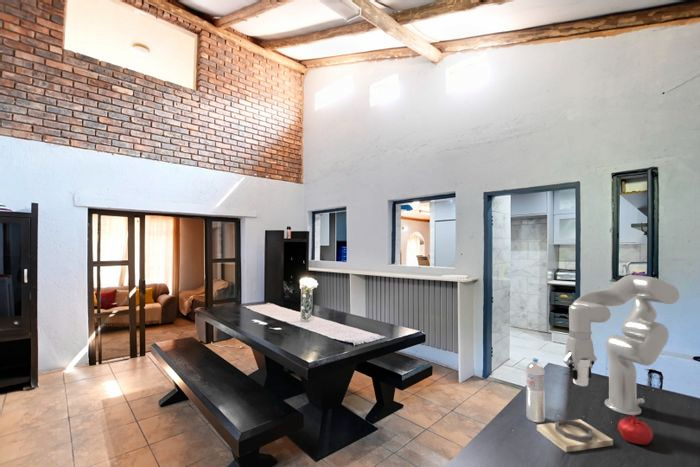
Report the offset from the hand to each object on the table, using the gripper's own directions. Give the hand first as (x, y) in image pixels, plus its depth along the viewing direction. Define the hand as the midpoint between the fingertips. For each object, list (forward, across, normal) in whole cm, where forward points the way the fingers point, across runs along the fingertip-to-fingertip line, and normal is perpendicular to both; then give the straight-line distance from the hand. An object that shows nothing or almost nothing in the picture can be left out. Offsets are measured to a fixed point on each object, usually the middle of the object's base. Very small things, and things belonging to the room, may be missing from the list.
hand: (580, 377), depth 143 cm
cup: (+3, 0, 0) cm, 3 cm away
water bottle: (+17, +19, -3) cm, 26 cm away
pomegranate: (+17, -6, +17) cm, 25 cm away
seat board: (+17, +14, +11) cm, 25 cm away
